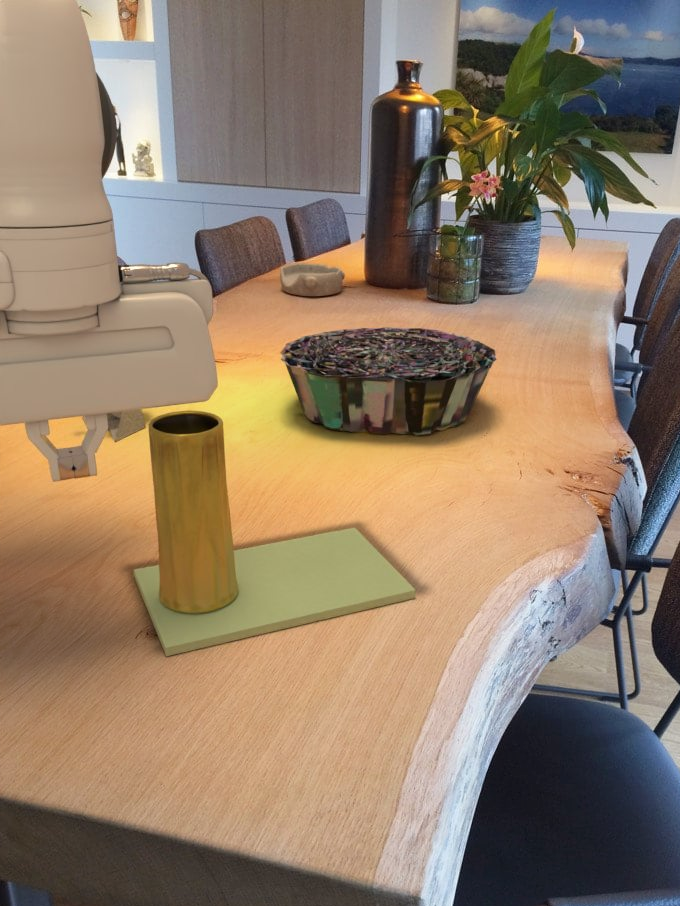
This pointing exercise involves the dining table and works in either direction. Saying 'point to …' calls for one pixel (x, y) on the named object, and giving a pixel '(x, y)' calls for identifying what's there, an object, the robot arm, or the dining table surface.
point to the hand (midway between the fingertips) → (74, 476)
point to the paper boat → (125, 423)
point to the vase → (192, 512)
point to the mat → (282, 590)
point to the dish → (311, 279)
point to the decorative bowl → (387, 378)
